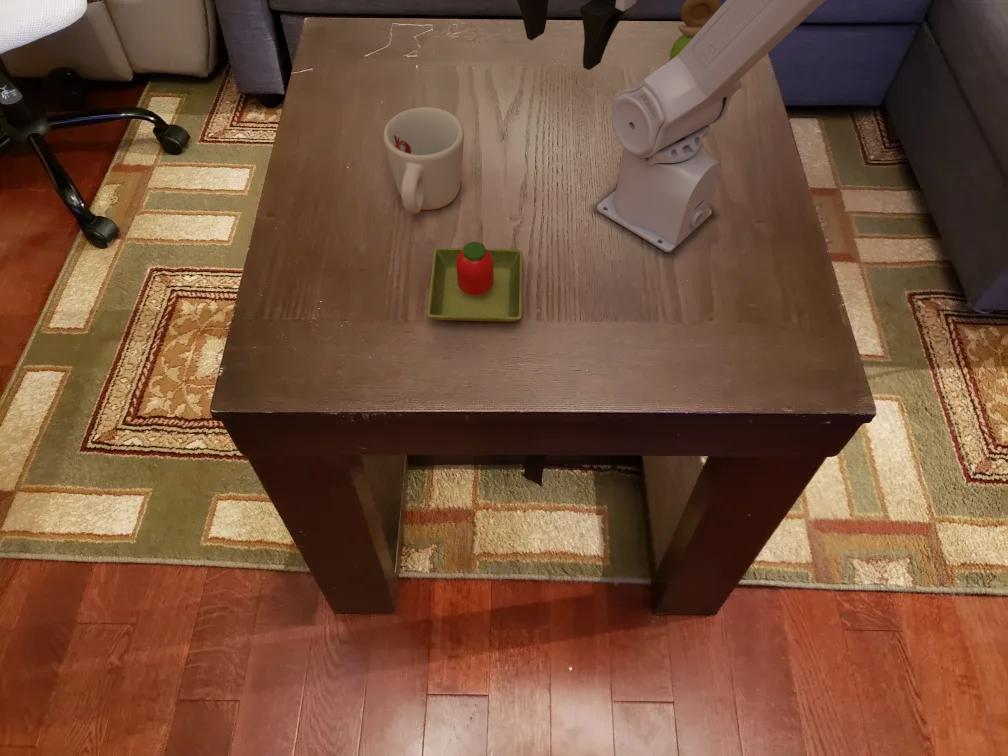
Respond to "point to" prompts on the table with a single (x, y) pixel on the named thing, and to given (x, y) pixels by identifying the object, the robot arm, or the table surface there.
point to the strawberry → (475, 269)
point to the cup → (425, 156)
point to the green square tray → (489, 306)
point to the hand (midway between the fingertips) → (563, 50)
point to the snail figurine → (693, 21)
